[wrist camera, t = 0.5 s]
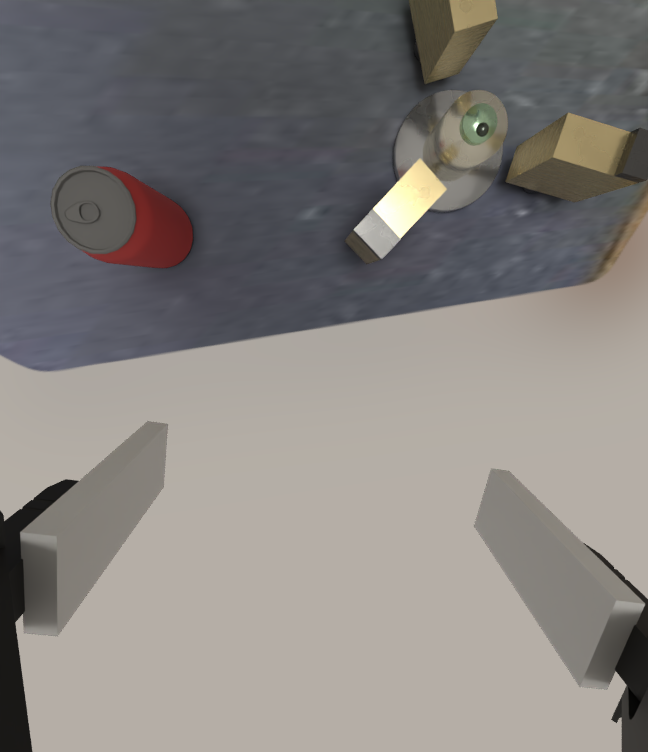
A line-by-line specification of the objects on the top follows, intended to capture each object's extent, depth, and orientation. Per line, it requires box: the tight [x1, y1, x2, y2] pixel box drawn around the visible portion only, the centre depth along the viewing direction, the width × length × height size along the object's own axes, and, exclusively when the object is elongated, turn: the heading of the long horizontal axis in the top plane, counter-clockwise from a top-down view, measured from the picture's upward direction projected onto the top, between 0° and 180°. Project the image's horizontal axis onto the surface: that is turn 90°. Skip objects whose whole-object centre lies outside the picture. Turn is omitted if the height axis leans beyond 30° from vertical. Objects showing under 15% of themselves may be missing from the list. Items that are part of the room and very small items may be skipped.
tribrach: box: [393, 41, 536, 212], centre depth 33 cm, size 18×16×8 cm
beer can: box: [51, 166, 193, 268], centre depth 31 cm, size 7×7×12 cm
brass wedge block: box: [345, 159, 447, 264], centre depth 32 cm, size 7×3×8 cm, turn 136°
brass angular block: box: [506, 113, 648, 202], centre depth 31 cm, size 7×3×8 cm, turn 76°
